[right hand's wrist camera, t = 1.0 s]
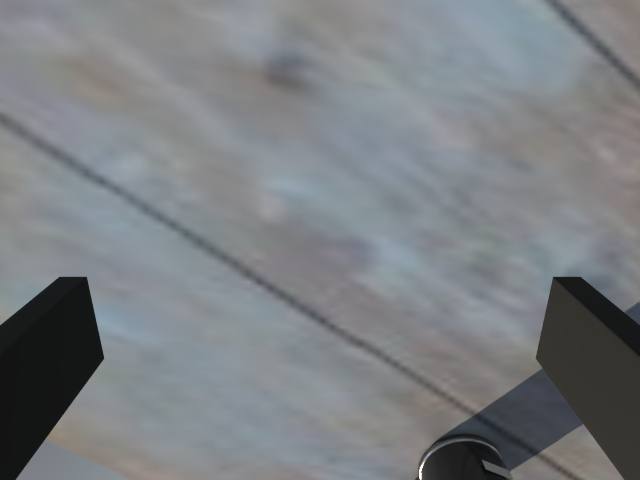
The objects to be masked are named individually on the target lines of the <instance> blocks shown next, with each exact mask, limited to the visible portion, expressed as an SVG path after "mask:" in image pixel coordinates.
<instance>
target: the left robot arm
mask: <svg viewBox="0 0 640 480" xmlns="http://www.w3.org/2000/svg"><path fill="white" fill-rule="evenodd" d="M418 473H419V476H418V477H417V479H416V480H513V478H512V476H511V474H510V471H509V470H507V469H506V466H505V464H504V461H503V458H502V456H501V454H500V452H499V450H498V449H497V448H496V447H495V446H494V445H493V444H492V443H491V442H489V441H488V440H486V439H483V438H481V437H477V436H472V435H458V436H452V437H449V438H446V439H443V440H441V441H439V442H437V443H435V444H434V445H432V446H431V447H430V448H429V449H428V450H427V451H426V452H425V453H424V455H423V456H422V458H421V460H420V463H419V467H418Z"/></svg>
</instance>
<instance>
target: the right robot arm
mask: <svg viewBox="0 0 640 480" xmlns="http://www.w3.org/2000/svg"><path fill="white" fill-rule="evenodd" d="M103 359H104V355H103V350H102V346H101V341H100V336H99V332H98V327H97V322H96V318H95V313H94V308H93V304H92V299H91V295H90V290H89V285H88V281H87V277H59V278H58V279H56V280H55V281H54V282H53V283H51V284H50V285H49V286H48V287H47V288H45V289H44V290H43V291H42V292H40V293H39V294H38V295H37V296H36V297H34V298H33V299H32V300H31V301H30V302H28V303H27V304H26V305H25V306H23V307H22V308H21V309H20V310H19V311H17V312H16V313H15V314H14V315H12V316H11V317H10V318H9V319H8V320H6V321H5V322H4V323H3V324H1V325H0V480H16V478H17V477H18V476H19V474H20V473H21V472H22V470H23V469H24V467H25V466H26V465H27V463H28V462H29V461H30V459H31V458H32V456H33V455H34V454H35V452H36V451H37V450H38V448H39V447H40V446H41V444H42V443H43V441H44V440H45V439H46V437H47V436H48V435H49V433H50V432H51V431H52V429H53V428H54V426H55V425H56V424H57V422H58V421H59V420H60V418H61V417H62V415H63V414H64V413H65V411H66V410H67V409H68V407H69V406H70V405H71V403H72V402H73V400H74V399H75V398H76V396H77V395H78V394H79V392H80V391H81V389H82V388H83V387H84V385H85V384H86V383H87V381H88V380H89V379H90V377H91V376H92V374H93V373H94V372H95V370H96V369H97V368H98V366H99V365H100V364H101V362H102V361H103ZM536 359H537V361H538V362H539V364H540V365H541V366H542V368H543V369H544V370H545V372H546V373H547V374H548V376H549V377H550V379H551V380H552V381H553V383H554V384H555V385H556V387H557V388H558V389H559V391H560V392H561V394H562V395H563V396H564V398H565V399H566V400H567V402H568V403H569V405H570V406H571V407H572V409H573V410H574V411H575V413H576V414H577V415H578V417H579V418H580V420H581V421H582V422H583V424H584V425H585V426H586V428H587V429H588V431H589V432H590V433H591V435H592V436H593V437H594V439H595V440H596V441H597V443H598V444H599V446H600V447H601V448H602V450H603V451H604V452H605V454H606V455H607V456H608V458H609V459H610V461H611V462H612V463H613V465H614V466H615V467H616V469H617V470H618V472H619V473H620V474H621V476H622V477H623V478H624V480H640V325H639V324H637V323H636V322H635V321H634V320H632V319H631V318H630V317H629V316H628V315H626V314H625V313H624V312H623V311H621V310H620V309H619V308H618V307H617V306H615V305H614V304H613V303H612V302H610V301H609V300H608V299H607V298H606V297H604V296H603V295H602V294H601V293H600V292H598V291H597V290H596V289H595V288H593V287H592V286H591V285H590V284H589V283H587V282H586V281H585V280H584V279H582V278H581V277H553V281H552V285H551V290H550V295H549V299H548V304H547V308H546V313H545V318H544V322H543V327H542V332H541V336H540V341H539V346H538V350H537V355H536Z"/></svg>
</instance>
